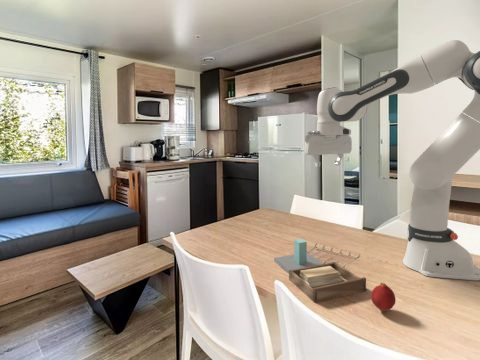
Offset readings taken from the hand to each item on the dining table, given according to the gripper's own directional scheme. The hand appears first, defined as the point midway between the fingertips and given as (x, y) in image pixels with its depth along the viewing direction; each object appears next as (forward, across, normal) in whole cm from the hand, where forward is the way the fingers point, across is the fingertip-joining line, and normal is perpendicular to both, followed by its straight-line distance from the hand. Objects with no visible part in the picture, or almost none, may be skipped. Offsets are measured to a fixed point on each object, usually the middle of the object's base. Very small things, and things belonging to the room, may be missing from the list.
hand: (327, 165), depth 121 cm
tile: (+34, -19, -11) cm, 41 cm away
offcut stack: (+34, -19, -24) cm, 46 cm away
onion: (+34, -13, -44) cm, 58 cm away
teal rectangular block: (+33, -19, -11) cm, 40 cm away
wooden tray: (+34, -19, -27) cm, 47 cm away
